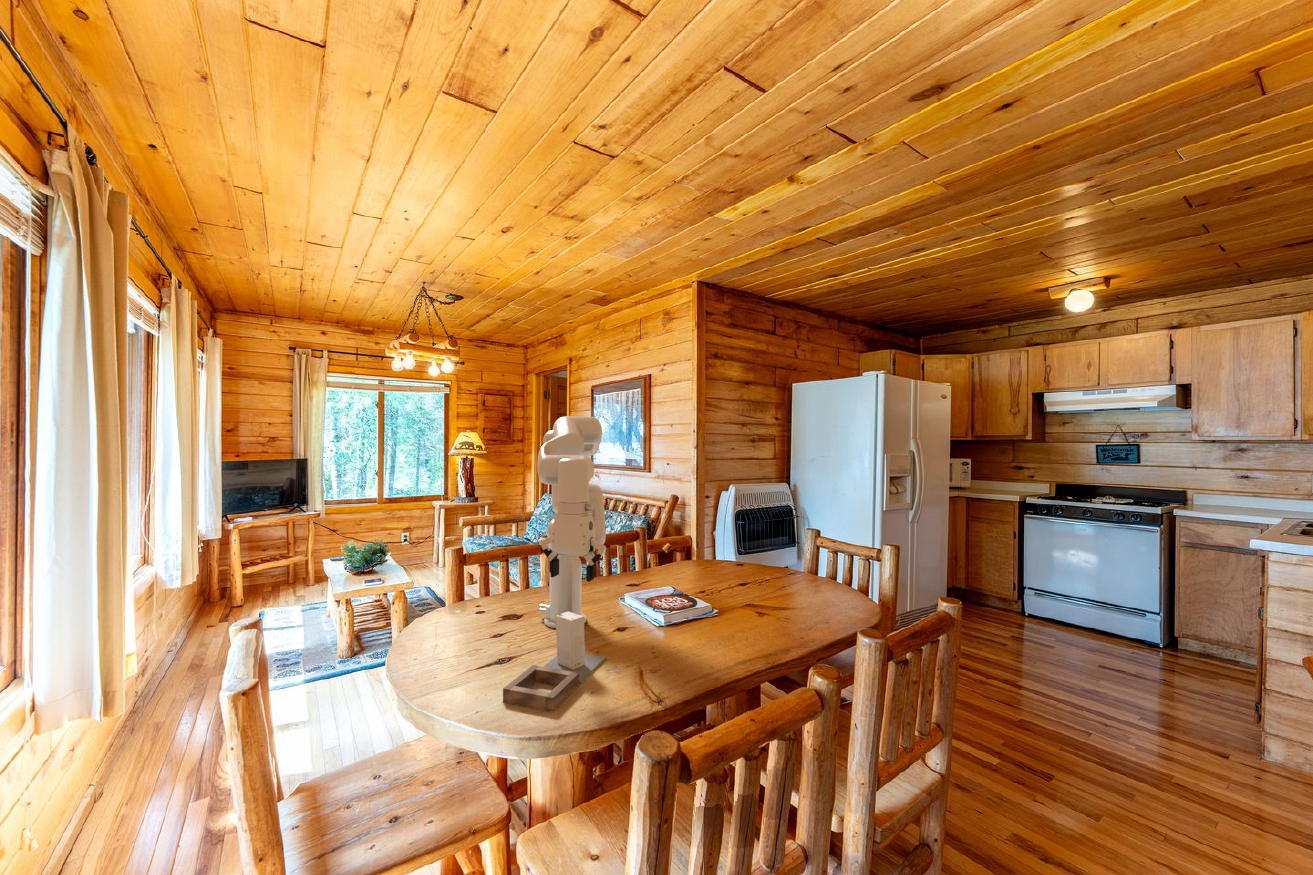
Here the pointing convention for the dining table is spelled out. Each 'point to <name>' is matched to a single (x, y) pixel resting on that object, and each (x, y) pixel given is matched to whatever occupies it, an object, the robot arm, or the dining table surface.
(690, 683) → the dining table surface
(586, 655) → the rubber mat
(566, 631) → the skincare box
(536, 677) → the square box holder
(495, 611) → the dining table surface
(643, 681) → the dining table surface
